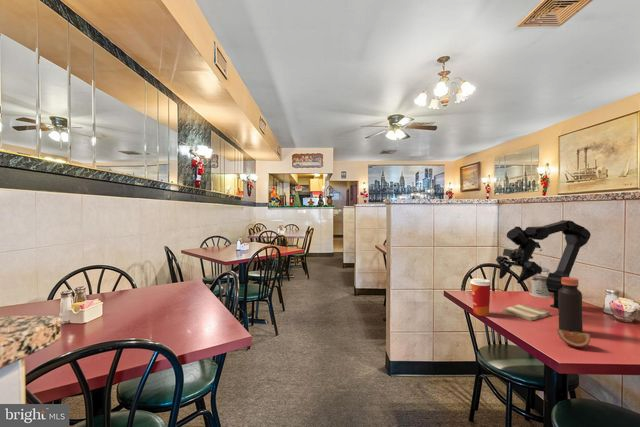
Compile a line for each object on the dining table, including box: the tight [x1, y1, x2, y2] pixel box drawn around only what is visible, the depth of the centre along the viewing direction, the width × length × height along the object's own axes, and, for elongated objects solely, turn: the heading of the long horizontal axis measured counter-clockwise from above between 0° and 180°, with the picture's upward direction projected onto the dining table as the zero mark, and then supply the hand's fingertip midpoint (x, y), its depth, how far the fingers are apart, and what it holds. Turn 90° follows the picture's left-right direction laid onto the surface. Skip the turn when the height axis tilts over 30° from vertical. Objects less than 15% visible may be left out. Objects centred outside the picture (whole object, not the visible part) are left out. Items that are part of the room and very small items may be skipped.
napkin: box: [501, 303, 551, 322], centre depth 128 cm, size 14×12×2 cm
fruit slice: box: [556, 328, 591, 349], centre depth 98 cm, size 8×7×5 cm
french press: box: [529, 248, 553, 299], centre depth 155 cm, size 10×12×25 cm
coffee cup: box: [469, 277, 492, 317], centre depth 129 cm, size 8×8×15 cm
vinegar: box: [558, 276, 584, 333], centre depth 108 cm, size 7×7×20 cm
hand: (508, 280), depth 129 cm, fingers open, 9 cm apart
